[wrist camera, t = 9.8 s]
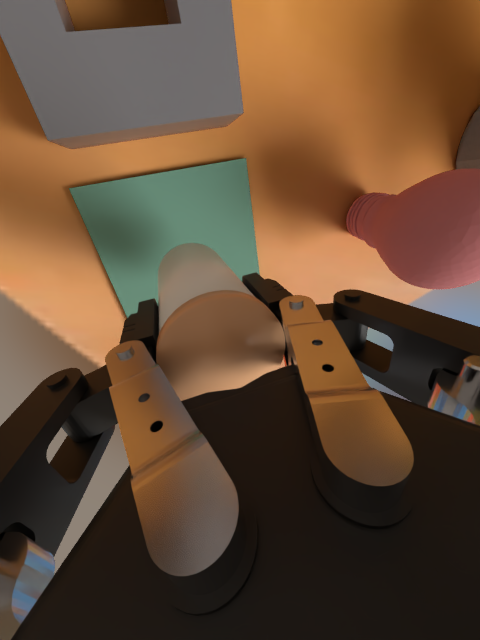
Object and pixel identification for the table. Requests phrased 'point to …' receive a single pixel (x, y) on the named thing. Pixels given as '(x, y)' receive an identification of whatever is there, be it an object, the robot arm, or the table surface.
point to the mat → (168, 223)
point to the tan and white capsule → (211, 325)
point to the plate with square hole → (125, 72)
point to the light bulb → (425, 229)
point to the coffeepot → (470, 145)
